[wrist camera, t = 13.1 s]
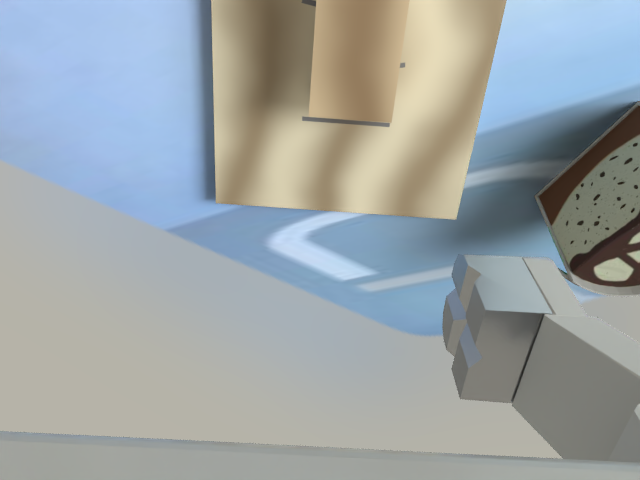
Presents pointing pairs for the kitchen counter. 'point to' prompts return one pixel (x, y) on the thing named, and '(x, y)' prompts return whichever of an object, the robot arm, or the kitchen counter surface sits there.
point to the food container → (599, 211)
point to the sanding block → (357, 58)
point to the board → (341, 134)
